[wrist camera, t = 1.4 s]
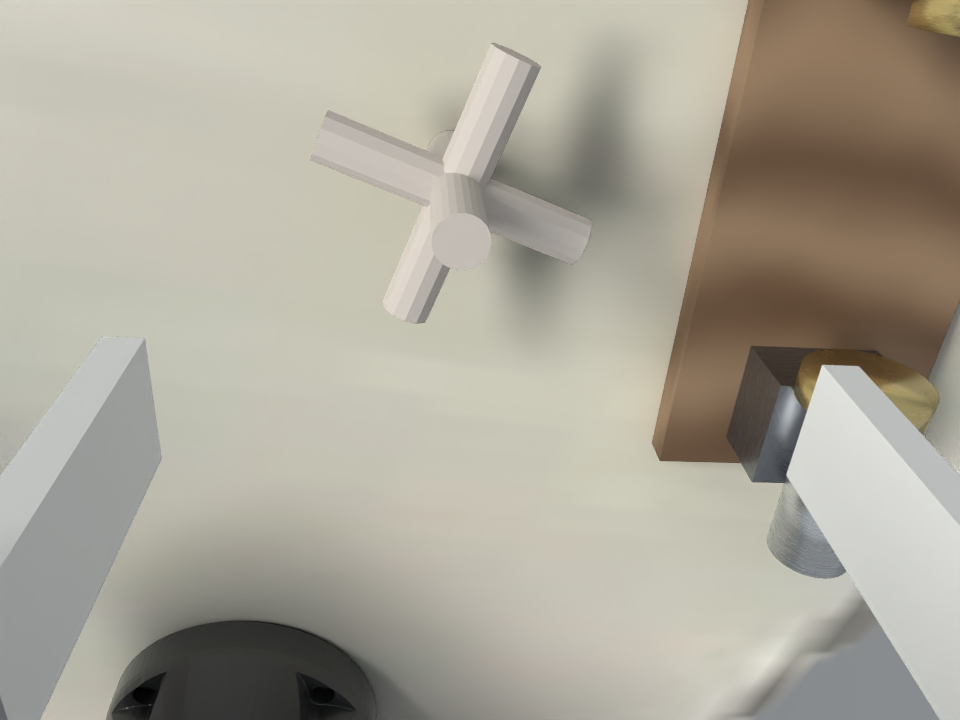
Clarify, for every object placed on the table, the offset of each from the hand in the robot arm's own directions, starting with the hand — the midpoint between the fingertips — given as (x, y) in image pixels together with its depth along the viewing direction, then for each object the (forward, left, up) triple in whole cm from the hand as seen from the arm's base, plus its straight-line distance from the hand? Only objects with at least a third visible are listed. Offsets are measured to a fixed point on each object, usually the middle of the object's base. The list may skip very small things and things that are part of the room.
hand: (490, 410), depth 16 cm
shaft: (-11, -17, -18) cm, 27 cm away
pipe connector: (0, 0, -20) cm, 20 cm away
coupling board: (0, -17, -20) cm, 26 cm away
